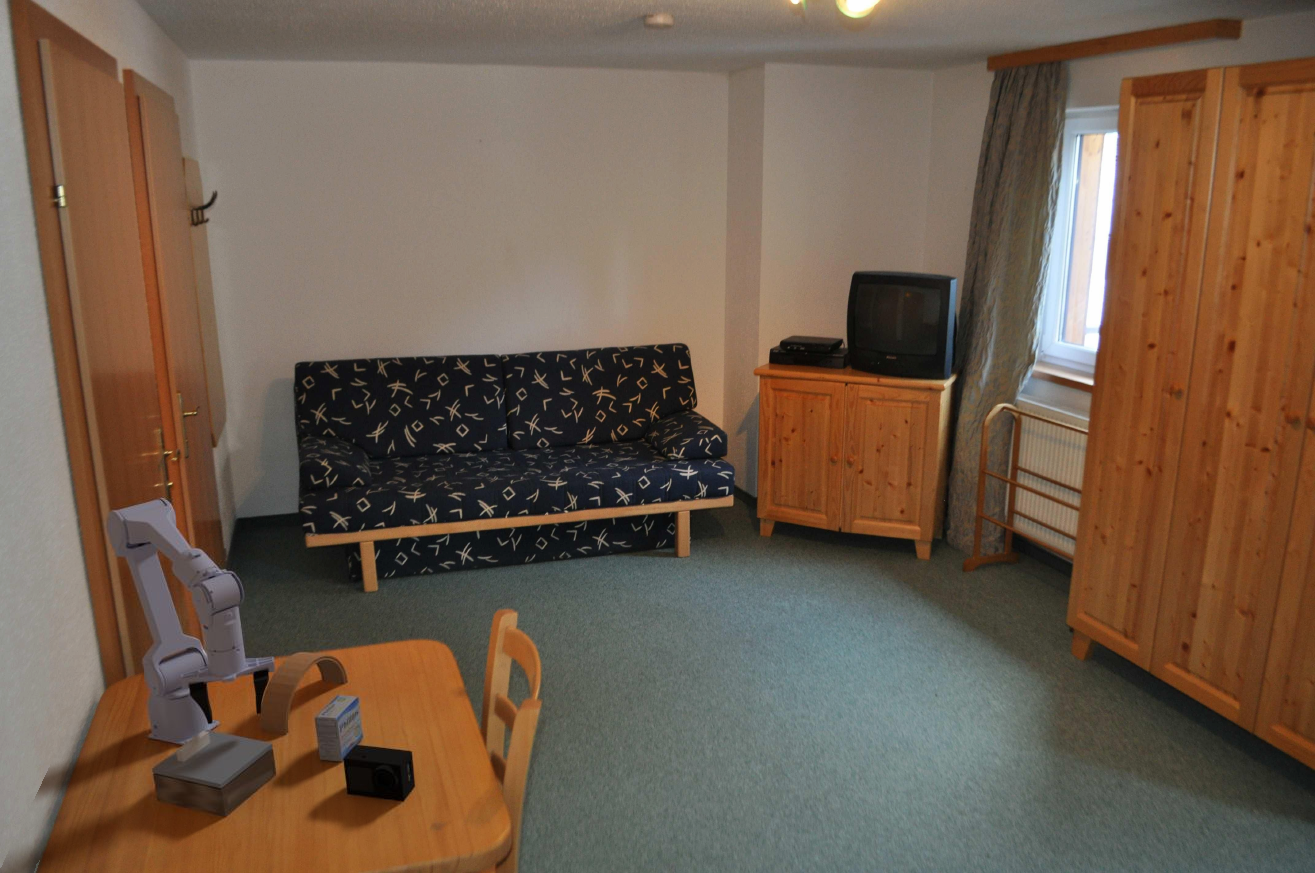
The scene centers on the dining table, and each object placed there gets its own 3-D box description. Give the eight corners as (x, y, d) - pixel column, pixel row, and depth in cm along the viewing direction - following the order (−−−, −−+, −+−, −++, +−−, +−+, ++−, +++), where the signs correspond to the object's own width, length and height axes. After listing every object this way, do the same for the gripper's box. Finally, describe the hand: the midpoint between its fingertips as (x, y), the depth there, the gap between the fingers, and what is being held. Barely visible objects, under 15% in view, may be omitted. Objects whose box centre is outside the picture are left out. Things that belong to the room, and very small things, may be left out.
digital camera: (342, 798, 160) (338, 761, 159) (359, 779, 166) (355, 743, 164) (400, 806, 158) (396, 769, 156) (415, 786, 163) (411, 750, 162)
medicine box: (342, 762, 170) (337, 719, 168) (318, 760, 171) (313, 716, 169) (363, 738, 178) (359, 695, 175) (341, 735, 179) (336, 693, 176)
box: (157, 800, 161) (152, 774, 159) (211, 760, 172) (207, 735, 170) (225, 816, 156) (221, 789, 155) (276, 774, 167) (273, 748, 166)
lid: (152, 772, 159) (150, 757, 158) (207, 733, 170) (205, 719, 169) (221, 788, 155) (219, 772, 154) (272, 747, 166) (270, 732, 165)
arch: (259, 730, 181) (252, 682, 178) (324, 678, 199) (319, 634, 197) (286, 735, 179) (279, 686, 177) (348, 682, 198) (344, 637, 195)
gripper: (176, 663, 157) (187, 737, 160) (272, 645, 162) (281, 717, 166) (177, 644, 163) (188, 716, 167) (269, 628, 169) (278, 697, 172)
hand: (234, 715), depth 167 cm, fingers open, 7 cm apart
